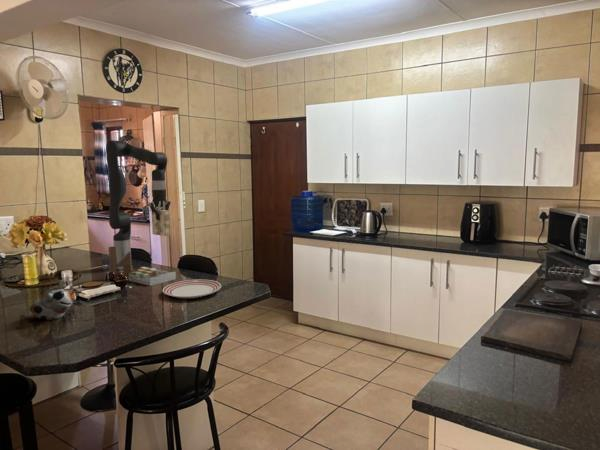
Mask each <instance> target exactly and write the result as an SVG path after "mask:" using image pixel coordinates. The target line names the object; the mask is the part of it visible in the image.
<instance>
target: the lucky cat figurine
mask: <svg viewBox="0 0 600 450" xmlns="http://www.w3.org/2000/svg"><path fill="white" fill-rule="evenodd" d="M76 299H77V294H76V291H68V290H67V289H63V288H59V289H53V290H51V291H48V292H47V293H46V294H45V296H44V297H42V298H41V299H39V300H36V301H35V302H33V303H32V304H31V305H30V306H29V308H28V309H29V311H30V312H31V314H32V315H34V317H36V318H38V319H39V320H40V319H41V320H42V319H44V320H45V321H52V320H53V319H54V320H57V319H61V318H62V317H63V316H64V315H65V314H66V312H67V311H68V310H69V308H70V307H71V306H72V304H73V303H74V302H75V301H76Z"/></svg>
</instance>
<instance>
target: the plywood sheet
mask: <svg viewBox="0 0 600 450" xmlns="http://www.w3.org/2000/svg"><path fill="white" fill-rule="evenodd" d="M150 211H151V210H150ZM159 214H160V220H156V214H155V213H154V212H152V211H151V227H152V228H151V229H152V232H151V233H152V235H154V236H162V237H163V236H164V237H169V236H171V231H170V229H171V228H170V227H171V226H170V210H169V209H168V210H159Z"/></svg>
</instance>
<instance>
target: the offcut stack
mask: <svg viewBox="0 0 600 450" xmlns="http://www.w3.org/2000/svg"><path fill="white" fill-rule="evenodd" d="M152 268H153V267H146V266H140V267H139V268H137V269H136V271H137V272H136V271H135V272H136V273H135V276H138V277H142V278H147V279H148V278H150V277H154V276H158V275H160V271H159V270H160V269H152Z"/></svg>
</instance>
